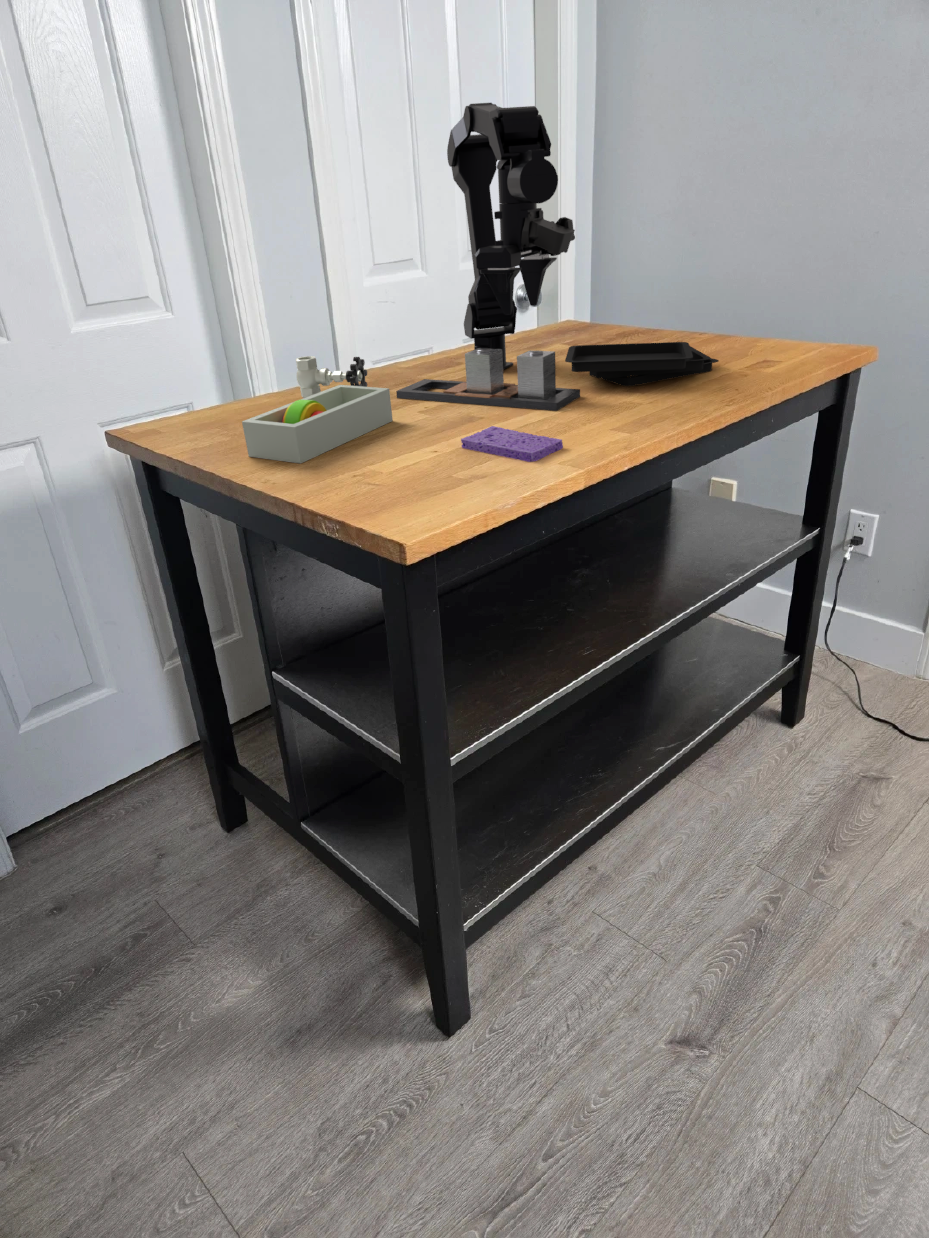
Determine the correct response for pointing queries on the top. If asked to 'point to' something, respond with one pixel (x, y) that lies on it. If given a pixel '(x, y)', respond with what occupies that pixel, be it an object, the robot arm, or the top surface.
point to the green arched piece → (302, 411)
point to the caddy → (318, 424)
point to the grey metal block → (536, 375)
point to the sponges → (512, 444)
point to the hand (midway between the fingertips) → (521, 309)
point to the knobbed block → (484, 371)
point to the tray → (638, 361)
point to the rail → (484, 395)
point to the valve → (326, 375)
